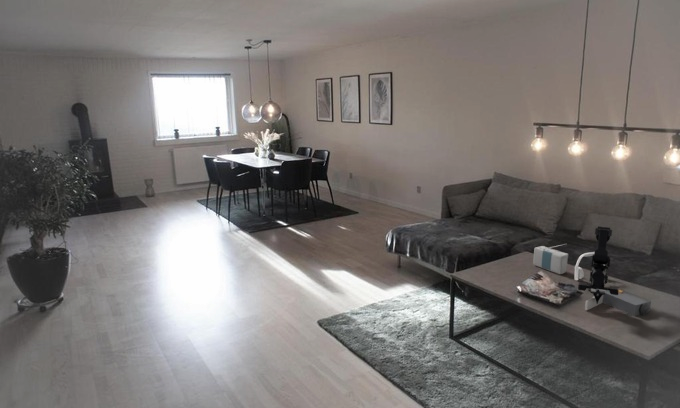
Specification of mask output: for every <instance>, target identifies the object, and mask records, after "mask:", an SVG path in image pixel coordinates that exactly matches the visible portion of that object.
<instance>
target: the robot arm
mask: <svg viewBox="0 0 680 408" xmlns="http://www.w3.org/2000/svg"><path fill="white" fill-rule="evenodd" d="M594 235H595V239H596V240H597V248H596V249H595V250H594V252H595V253H594V254H593V256H591V257H592V259H591V267H592V268H591V271H590V273H589V282H590V284H588V283H587V282H584V281H579V282H578V285H577V290H578V291H586V290H588V291H589V292H590V294H593V297H595V299H596V302H597V303H596V304H598V301H599V299H600V298H601V296H602V295H605V291H609V292H610V294H612V295H618V291H619V289H620V288H619V287H618V286H615V285H609V287H607V286H606V284H608V280H609V275H608V274H607V273H606V271H607V270H608V269H609V268H610V266H611V265H610V264H611V258H610V256H609V251H608V250H607V243H608V242H609V241H610V239H611V237H612V235H613V229H611V227H608V226H600V225H599V226H597V227H595V228H594Z"/></svg>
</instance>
